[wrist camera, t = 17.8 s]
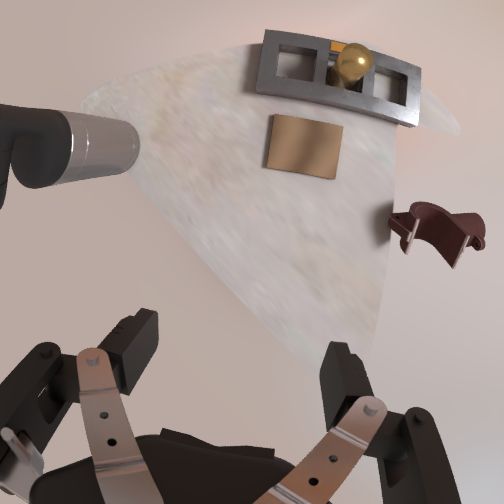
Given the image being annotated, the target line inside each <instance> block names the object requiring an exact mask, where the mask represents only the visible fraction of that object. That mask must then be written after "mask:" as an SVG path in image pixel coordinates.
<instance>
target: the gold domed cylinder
mask: <svg viewBox="0 0 504 504" xmlns="http://www.w3.org/2000/svg"><path fill="white" fill-rule="evenodd" d="M373 62H374V59H373V56H372V54H371V52H370V51H369V50H368V49H367V48H366V47H365V46H363V45H361V44H357V43H351V44H348V45H346V46H345V47H344V48H343V50H342V51H341V53H340V55H339V56H338V58H337V60H336V61H335V63H334V65H333V66H332V68H331V70H330V71H329V73H328V80H329V82H330V84H331V85H332V86H334V87H338V88H342V89H346V90H347V89H349V88H351V87H352V86H353V85H354V84H355V83H356V82H357V81H358V80H359V79H360V78H361V77H362V76H363V75H364V74H365V73H366V72H367V71H368V70H369V69H370V68H371V67H372V66H373Z"/></svg>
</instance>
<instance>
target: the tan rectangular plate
mask: <svg viewBox="0 0 504 504" xmlns="http://www.w3.org/2000/svg"><path fill="white" fill-rule="evenodd" d="M342 132H343V127H342V126H338V125H333V124H329V123H324V122H319V121H314V120H309V119H303V118H298V117H292V116H286V115H279V114H275V115H274V122H273V128H272V135H271V142H270V149H269V155H268V162H267V168H274V169H280V170H286V171H292V172H298V173H303V174H309V175H314V176H319V177H325V178H330V179H335V177H336V171H337V165H338V159H339V153H340V146H341V139H342Z"/></svg>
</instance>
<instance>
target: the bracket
mask: <svg viewBox="0 0 504 504" xmlns="http://www.w3.org/2000/svg"><path fill="white" fill-rule="evenodd" d="M388 226H389V228H391V229H392V230H393V231H395V232H396V233H397V234H398V235H400V236H401V240H400V247H401V249H402V251H403V252H404V253H405V254H408V252H409V250H410V247H411V244H412V241H413V239H422V240H424V241H426V242H428V243H430V244H432V245H433V246H434V247H435V248H436V249H437V250H438V251H439V253H440V254H441V255H442V257H443V258H444V259H445V260H446V261H447V263H448V264H449V265H450V266H451V268H452V269H455V268H456V266H457V264H458V262H459V260H460V257H461V255H462V253H463V252H464V249H465V247H469V246H472V247H473V248H474V249H475V250H476V251H479V250H483V249H484V248H485V240H484V237H485V224H484V221H483V219H482V218H481V216H479V215H478V214H477V213H463V214H462V213H461V214H450V213H449V212H448V211H446V210H445V209H443V208H442V207H440V206H437V205H435V204H432V203H428V202H415V203H413V204H412V205H411V206H410V210H409V212H405V213H404V212H403V213H392V214H391V215H390V218H389V222H388Z"/></svg>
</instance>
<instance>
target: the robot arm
mask: <svg viewBox="0 0 504 504" xmlns="http://www.w3.org/2000/svg"><path fill="white" fill-rule="evenodd" d="M139 144H140V142H139V136H138V134H137V131H136V130H135V128H134V127H133V126H132V125H131V124H129V123H127V122H125V121H121V120H116V119H111V118H106V117H100V116H94V115H88V114H82V113H75V112H67V111H59V110H51V109H37V108H26V107H18V106H11V105H4V104H0V209H1V208H2V206H3V204H4V200H5V195H6V189H7V181H8V175H9V167H10V163H11V167H12V170H13V173H14V175H15V177H16V178H17V180H18V181H19V182H20V183H21V184H22V185H23V186H25V187H27V188H32V189H37V188H43V187H47V186H52V185H57V184H63V183H67V182H73V181H78V180H84V179H90V178H96V177H102V176H110V175H116V174H121V173H123V172H125V171H127V170H128V169H129V168H130V167H131V166H132V165H133V164H134V162H135V160H136V158H137V156H138V153H139ZM158 339H159V335H158V313H157V312H156V311H153V310H149V309H145V308H141V309H140V310H139V311H138V312H137V313H136V315H135V316H128V317H126V318H124V319H122V320H121V321H120V322H119V323H118V324H117V325H116V327H114V329H113V330H112V332H110V333H109V334H108V335H107V336H106V338H105V339H104V340H103V341H102V342H101V344H100V345H99V346H98V347H97V348H87V349H84V350H83V351H81V352H80V353H79V354H78V356H74V355H66V354H61V350H60V347H59V346H58V345H57V344H55V343H52V342H44V343H40V344H38V345H37V346H35V347H34V348H33V349H32V350H31V351H30V352H29V354H28V355H26V357H25V358H24V359H23V360H22V361H21V362H20V363H19V364H18V365H17V366H16V367H15V368H14V370H13V371H12V372H11V373H10V374H9V375H8V376H7V377H6V378H5V380H4V381H3V382H2V383H1V384H0V489H1V490H2V491H4V492H5V493H7V494H10V495H16V496H18V497H19V498H21V499H22V500H24V501H25V502H27V503H28V504H332V503H331V502H330V501H329V499H330V498H331V497H332V496H333V494H334V493H335V492H336V490H337V489H338V488H339V487H340V485H341V484H342V483H343V482H344V480H345V479H346V478H347V476H348V475H349V473H350V472H351V471H352V469H353V468H354V467H355V465H356V464H357V462H358V461H359V459H360V458H361V456H362V455H366V456H370V457H375V458H377V462H378V469H379V475H380V482H381V489H382V497H383V504H461V501H460V497H459V493H458V490H457V486H456V483H455V479H454V476H453V473H452V470H451V466H450V463H449V460H448V458H447V454H446V452H445V449H444V446H443V443H442V440H441V438H440V435H439V432H438V430H437V427H436V424H435V422H434V419H433V417H432V415H431V414H430V413H429V412H428V411H427V410H425V409H423V408H419V407H413V408H410V409H408V411H407V412H406V413H405V415H403V414H399V413H395V412H391V411H388V410H387V407H386V405H385V404H384V403H383V402H382V401H381V400H380V399H378V398H376V397H374V394H373V392H372V388H371V385H370V382H369V379H368V377H367V374H366V371H365V368H364V365H363V362H362V360H361V359H360V358H359V357H358V356H357V355H356V354H351V353H350V350H349V347H348V344H347V343H344V342H334V341H331V342H330V343H329V346H328V348H327V351H326V354H325V357H324V360H323V363H322V365H321V369H320V377H319V378H320V386H321V392H322V399H323V407H324V414H325V421H326V429H327V432H328V433H327V434H326V435H325V436H324V438H323V439H322V440H321V441H320V442H319V443H318V444H317V445H316V446H315V447H314V448H313V450H312V451H311V452H310V453H309V454H308V455H307V456H306V457H305V458H304V459H303V460H302V461H301V462H300V463H299V464H298V465H297V466H296V467H295V466H294V465H292V464H291V463H289V462H287V461H285V460H283V459H281V458H278V457H275V456H274V452H275V449H271V448H262V447H253V446H223V447H218V446H214V445H211V444H209V443H207V442H204V441H202V440H200V439H197V438H195V437H193V436H191V435H188V434H184V433H180V432H176V431H172V430H169V429H165V428H162V431H161V433H160V435H143V436H138V437H134V435H133V432H132V429H131V426H130V424H129V421H128V418H127V415H126V413H125V409H124V406H123V403H122V400H121V397H120V393H122V394H125V395H128V396H129V395H130V393H131V391H132V389H133V388H134V386H135V385H136V383H137V381H138V379H139V378H140V376H141V374H142V373H143V371H144V369H145V368H146V366H147V364H148V363H149V361H150V359H151V358H152V356H153V354H154V353H155V351H156V349H157V346H158ZM44 388H45V389H44ZM43 389H44V390H43ZM42 390H43V391H42ZM41 392H42V393H41ZM40 393H41V394H40ZM39 394H40V395H39ZM38 396H39V397H38ZM73 402H75V403H80V404H81V410H82V415H83V420H84V425H85V429H86V434H87V439H88V443H89V447H90V451H91V454H92V456H90V457H88V458H85V459H83V460H80V461H77V462H75V463H72V464H70V465H67V466H64V467H61V468H58V469H55V470H53V471H50V472H47V473H45V474H43V468H44V460H43V457H42V455H41V454H42V453H43V451H44V449H45V448H46V446H47V444H48V442H49V441H50V439H51V437H52V436H53V434H54V432H55V431H56V429H57V427H58V426H59V424H60V422H61V421H62V419H63V417H64V416H65V414H66V413H67V411H68V409H69V408H70V406H71V405H72V403H73Z"/></svg>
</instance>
